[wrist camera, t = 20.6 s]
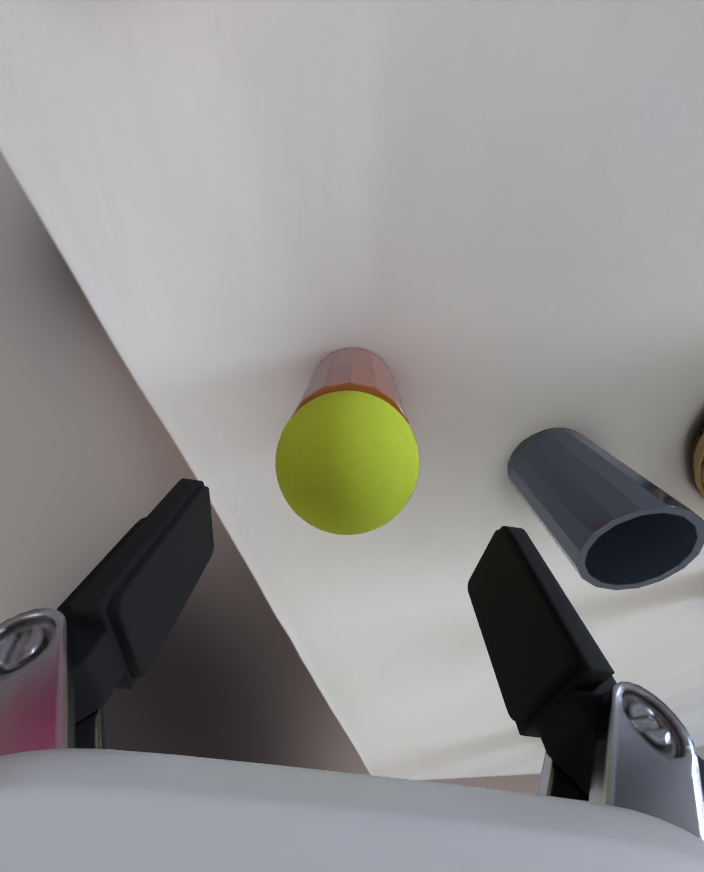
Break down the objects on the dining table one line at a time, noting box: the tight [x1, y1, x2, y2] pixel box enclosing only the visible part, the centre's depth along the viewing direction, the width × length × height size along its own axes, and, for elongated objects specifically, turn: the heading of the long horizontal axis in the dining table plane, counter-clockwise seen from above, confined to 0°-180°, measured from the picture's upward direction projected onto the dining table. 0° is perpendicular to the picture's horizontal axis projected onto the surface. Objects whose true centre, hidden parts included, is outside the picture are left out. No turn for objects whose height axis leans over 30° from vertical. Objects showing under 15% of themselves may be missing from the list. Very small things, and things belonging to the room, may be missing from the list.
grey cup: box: [508, 428, 704, 590], centre depth 23 cm, size 7×7×10 cm
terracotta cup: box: [292, 348, 409, 425], centre depth 20 cm, size 7×7×9 cm
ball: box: [276, 391, 419, 535], centre depth 15 cm, size 7×7×7 cm
